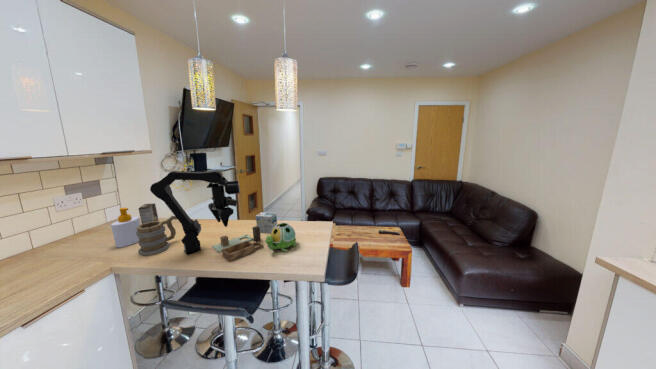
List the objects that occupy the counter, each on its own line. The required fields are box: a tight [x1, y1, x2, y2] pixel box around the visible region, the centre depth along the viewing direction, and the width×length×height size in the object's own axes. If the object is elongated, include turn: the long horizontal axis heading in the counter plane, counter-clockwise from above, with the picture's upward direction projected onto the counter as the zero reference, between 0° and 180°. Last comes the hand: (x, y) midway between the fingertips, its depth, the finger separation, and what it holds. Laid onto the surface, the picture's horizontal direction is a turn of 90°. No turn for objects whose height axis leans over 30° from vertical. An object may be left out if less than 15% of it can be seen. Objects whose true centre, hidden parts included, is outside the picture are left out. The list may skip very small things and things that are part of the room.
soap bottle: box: [110, 207, 142, 248], centre depth 134 cm, size 13×8×20 cm, turn 161°
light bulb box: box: [255, 211, 278, 234], centre depth 145 cm, size 11×7×11 cm, turn 74°
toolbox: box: [221, 241, 265, 263], centre depth 121 cm, size 18×8×4 cm, turn 134°
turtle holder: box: [264, 222, 297, 253], centre depth 123 cm, size 12×18×12 cm
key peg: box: [252, 225, 262, 243], centre depth 132 cm, size 3×3×8 cm
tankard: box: [136, 215, 178, 256], centre depth 128 cm, size 20×13×15 cm, turn 147°
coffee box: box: [137, 203, 160, 224], centre depth 152 cm, size 9×6×16 cm
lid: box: [211, 234, 254, 253], centre depth 130 cm, size 19×8×5 cm, turn 134°
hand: (222, 224), depth 125 cm, fingers open, 9 cm apart
